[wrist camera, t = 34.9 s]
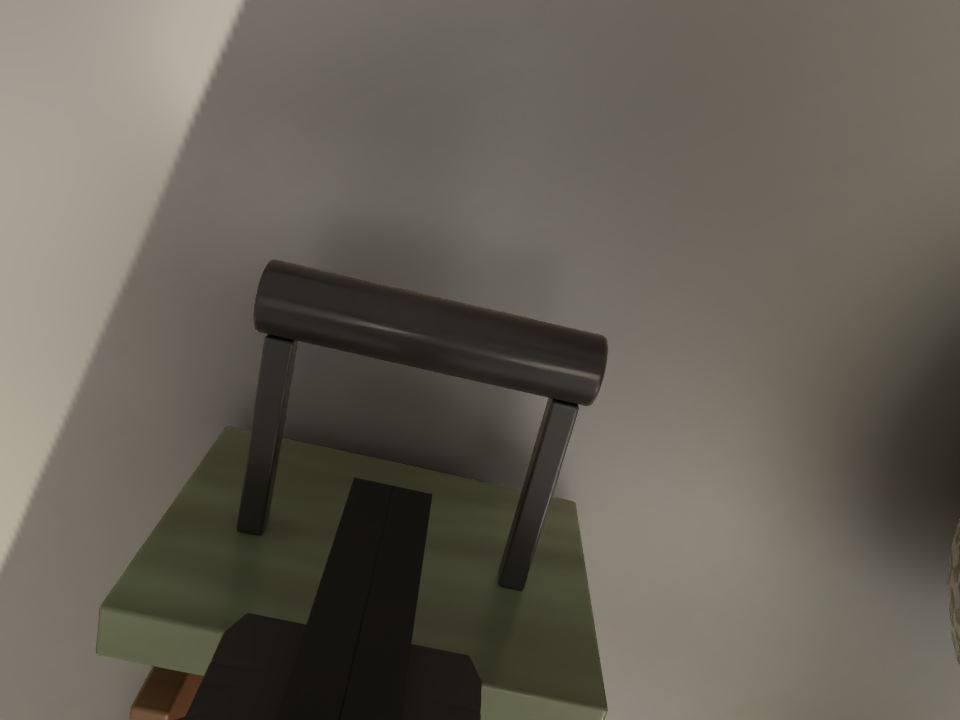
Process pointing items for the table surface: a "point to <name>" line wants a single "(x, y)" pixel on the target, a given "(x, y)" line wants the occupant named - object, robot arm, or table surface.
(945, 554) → the table surface
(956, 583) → the planter
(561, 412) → the drawer
